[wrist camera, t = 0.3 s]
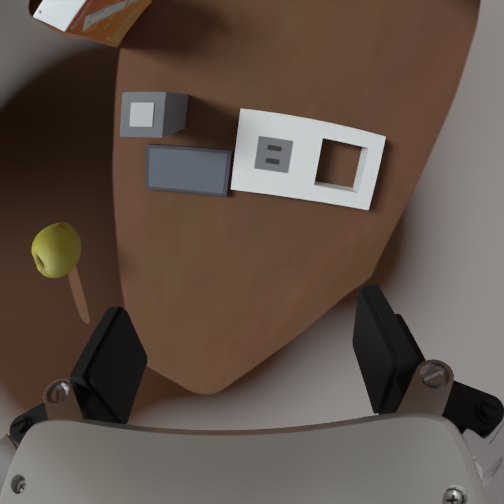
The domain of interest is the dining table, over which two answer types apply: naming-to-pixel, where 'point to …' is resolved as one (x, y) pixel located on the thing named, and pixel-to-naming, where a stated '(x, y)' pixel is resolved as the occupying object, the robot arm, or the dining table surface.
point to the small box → (93, 17)
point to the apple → (56, 250)
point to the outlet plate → (300, 158)
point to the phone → (187, 169)
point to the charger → (152, 114)
